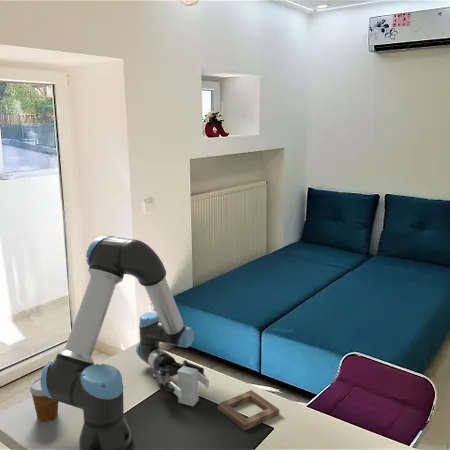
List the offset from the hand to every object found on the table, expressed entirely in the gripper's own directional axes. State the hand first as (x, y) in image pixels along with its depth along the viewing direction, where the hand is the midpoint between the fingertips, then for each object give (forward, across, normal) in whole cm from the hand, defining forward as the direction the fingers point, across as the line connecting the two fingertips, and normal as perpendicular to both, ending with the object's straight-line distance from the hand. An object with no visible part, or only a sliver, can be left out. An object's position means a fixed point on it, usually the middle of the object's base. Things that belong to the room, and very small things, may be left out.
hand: (194, 388), depth 166 cm
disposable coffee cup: (-24, +42, -7) cm, 49 cm away
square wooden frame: (+13, -13, -7) cm, 20 cm away
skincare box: (-4, 0, -7) cm, 8 cm away
